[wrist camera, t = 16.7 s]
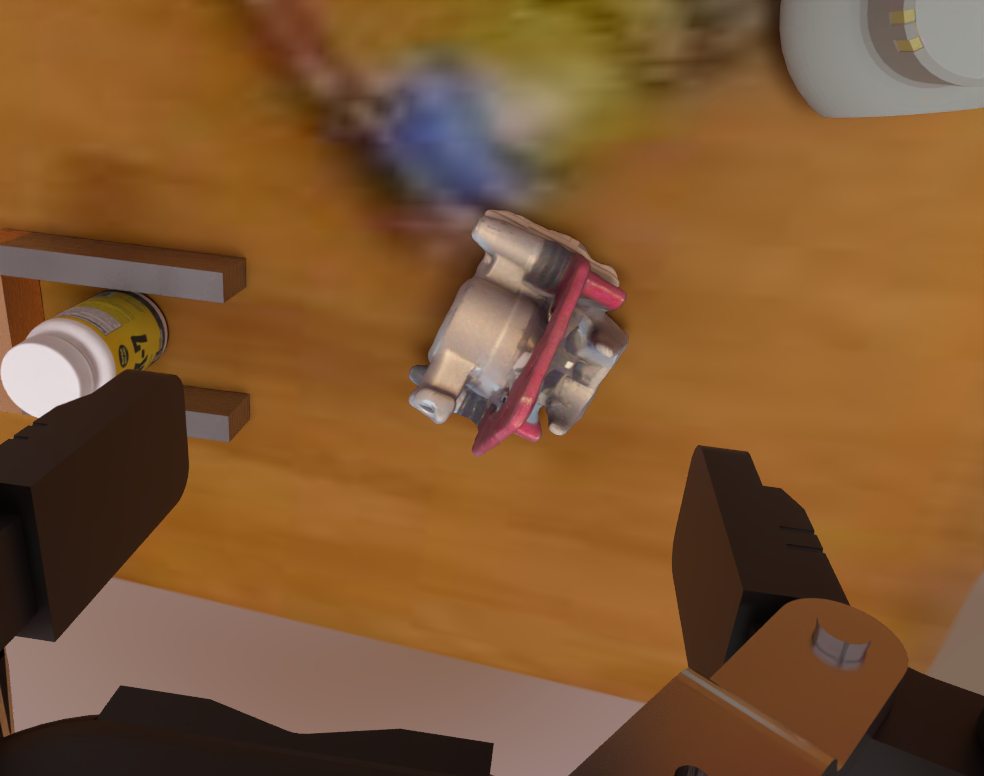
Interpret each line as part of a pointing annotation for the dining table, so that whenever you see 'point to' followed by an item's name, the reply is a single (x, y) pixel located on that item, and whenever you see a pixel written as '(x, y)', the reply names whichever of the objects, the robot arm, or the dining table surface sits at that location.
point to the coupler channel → (36, 256)
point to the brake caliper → (522, 335)
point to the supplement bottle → (83, 350)
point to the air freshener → (885, 55)
